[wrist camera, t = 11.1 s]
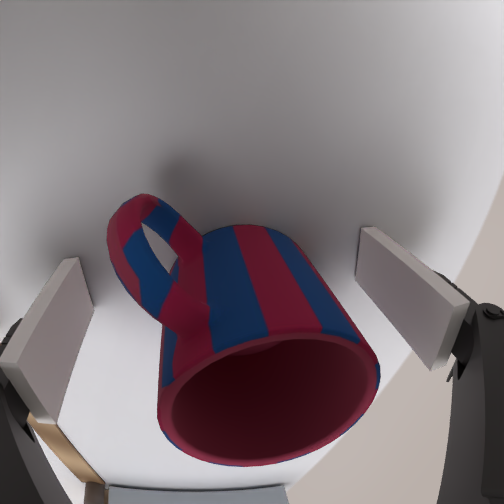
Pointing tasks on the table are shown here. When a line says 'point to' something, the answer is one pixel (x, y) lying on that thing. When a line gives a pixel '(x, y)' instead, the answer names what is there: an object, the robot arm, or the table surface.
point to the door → (198, 496)
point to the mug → (243, 339)
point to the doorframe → (72, 461)
